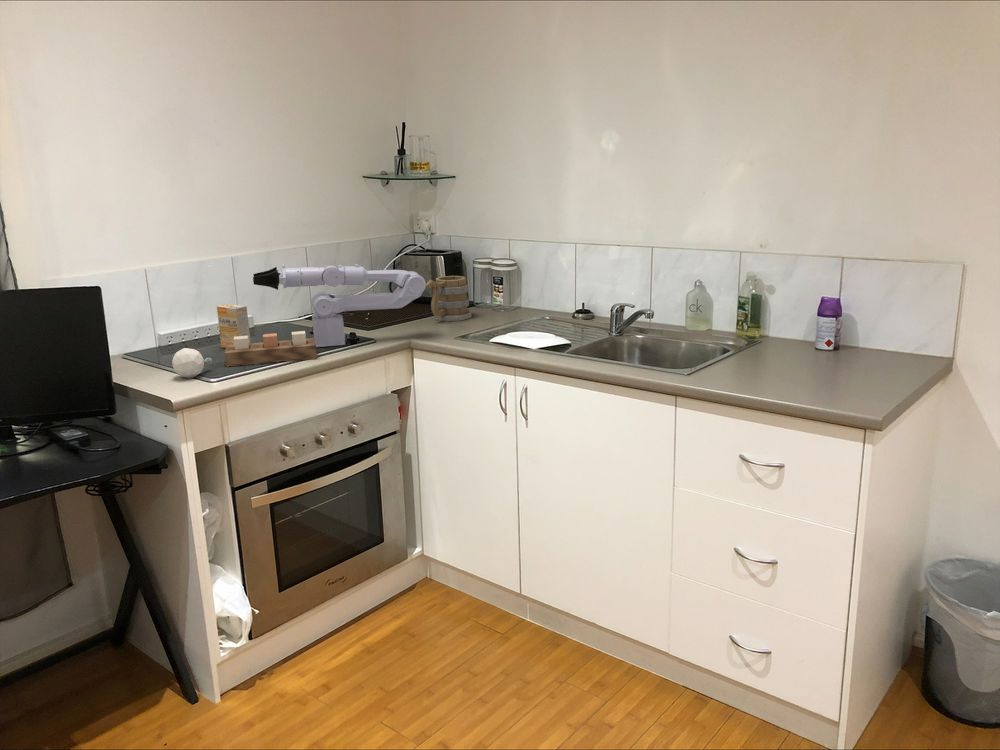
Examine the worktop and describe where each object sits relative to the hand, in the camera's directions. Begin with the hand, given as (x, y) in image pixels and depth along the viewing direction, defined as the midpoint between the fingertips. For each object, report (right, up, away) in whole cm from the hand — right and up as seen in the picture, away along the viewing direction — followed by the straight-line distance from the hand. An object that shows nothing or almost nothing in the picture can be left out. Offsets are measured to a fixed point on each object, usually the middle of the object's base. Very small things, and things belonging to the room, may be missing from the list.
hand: (253, 279), depth 239 cm
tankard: (+54, -9, +42) cm, 69 cm away
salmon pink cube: (+7, -21, -6) cm, 22 cm away
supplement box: (-8, -20, +10) cm, 24 cm away
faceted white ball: (-9, -29, -20) cm, 36 cm away
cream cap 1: (-1, -21, -8) cm, 23 cm away
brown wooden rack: (+7, -24, -5) cm, 25 cm away
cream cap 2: (+15, -20, -4) cm, 25 cm away
